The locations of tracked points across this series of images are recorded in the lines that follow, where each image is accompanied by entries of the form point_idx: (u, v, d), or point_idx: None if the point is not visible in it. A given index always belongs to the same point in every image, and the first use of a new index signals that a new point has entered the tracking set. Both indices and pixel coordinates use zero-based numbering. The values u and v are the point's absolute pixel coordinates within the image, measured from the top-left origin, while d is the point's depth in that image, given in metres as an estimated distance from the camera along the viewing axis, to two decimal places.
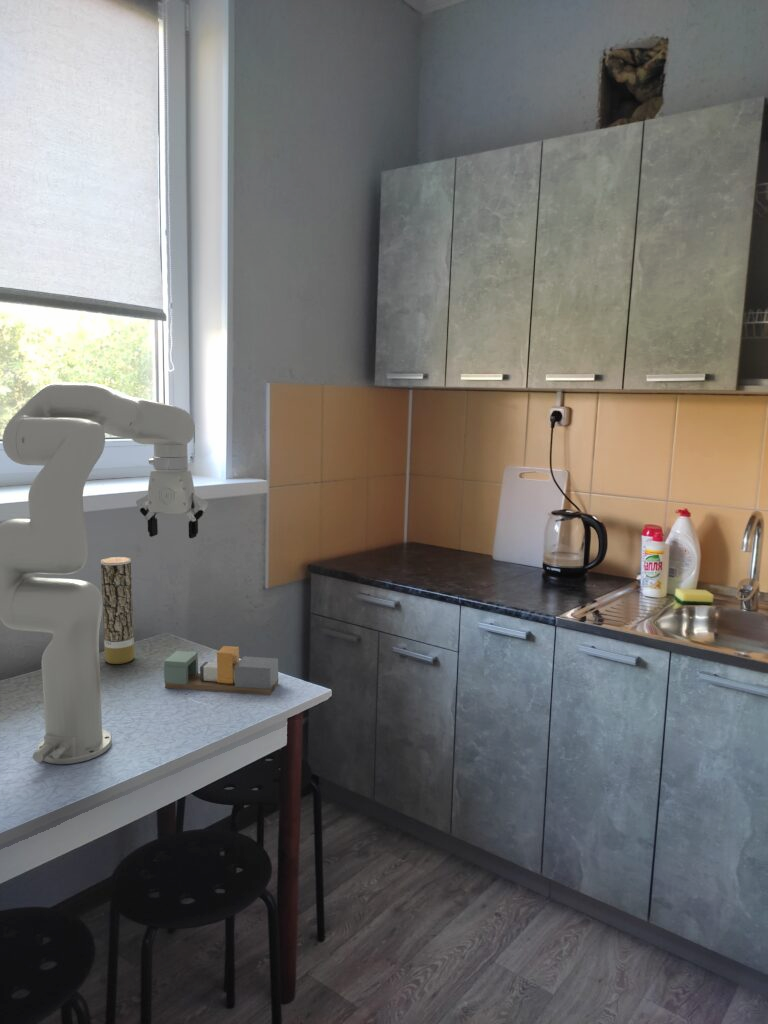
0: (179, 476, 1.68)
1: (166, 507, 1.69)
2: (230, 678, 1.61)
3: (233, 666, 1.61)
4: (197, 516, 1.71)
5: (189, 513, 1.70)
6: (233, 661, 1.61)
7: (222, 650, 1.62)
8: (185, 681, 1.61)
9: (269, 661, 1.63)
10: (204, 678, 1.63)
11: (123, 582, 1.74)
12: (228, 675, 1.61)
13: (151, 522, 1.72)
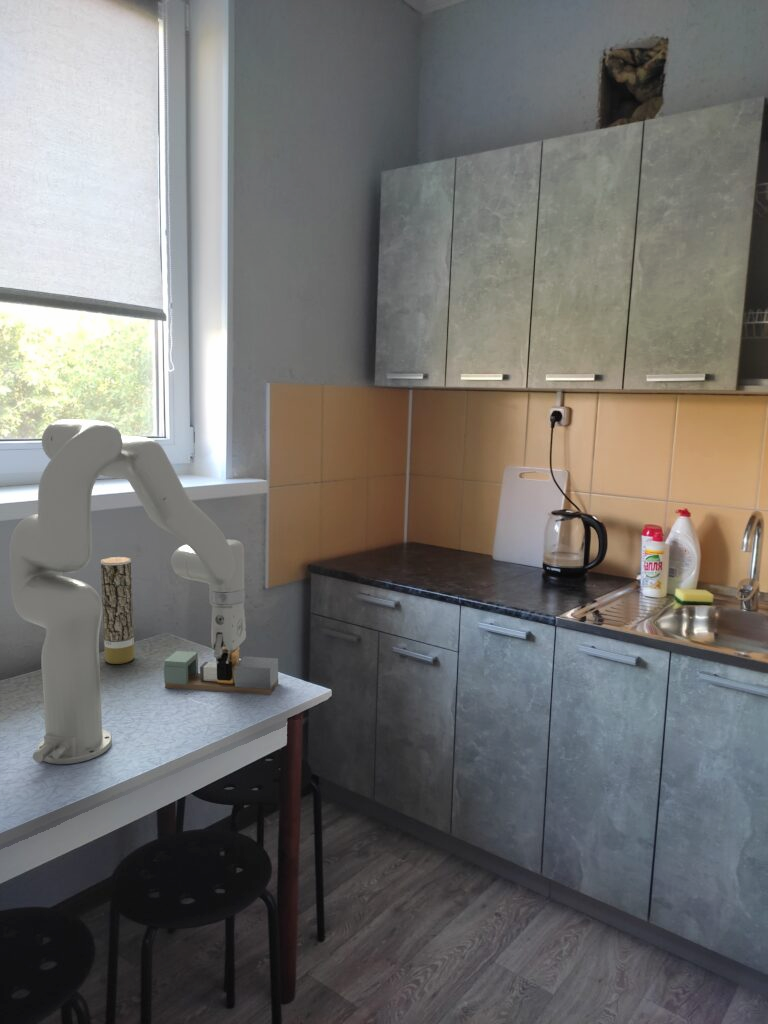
0: (242, 604, 1.64)
1: (239, 640, 1.62)
2: None
3: (233, 666, 1.61)
4: None
5: None
6: (233, 661, 1.61)
7: None
8: (185, 681, 1.61)
9: (269, 661, 1.63)
10: (204, 678, 1.63)
11: (123, 582, 1.74)
12: None
13: None
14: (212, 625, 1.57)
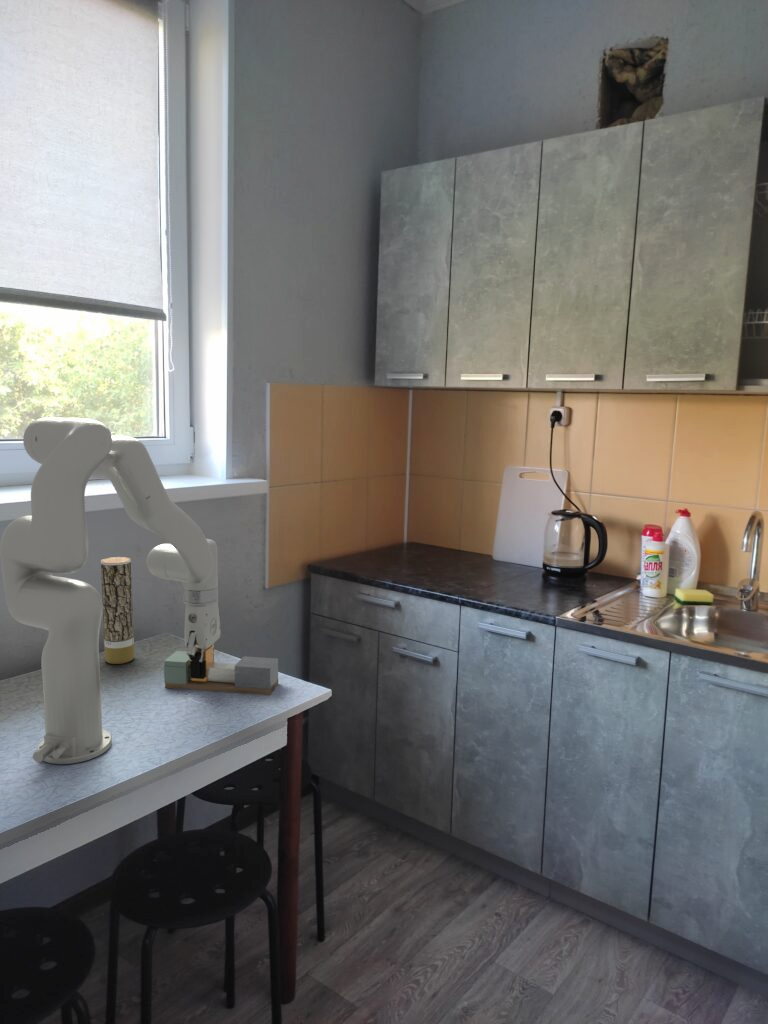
0: (217, 602, 1.65)
1: (213, 638, 1.63)
2: None
3: (207, 664, 1.62)
4: None
5: (212, 643, 1.66)
6: (206, 659, 1.62)
7: None
8: (185, 681, 1.61)
9: (269, 661, 1.63)
10: None
11: (123, 582, 1.74)
12: None
13: None
14: (185, 623, 1.58)
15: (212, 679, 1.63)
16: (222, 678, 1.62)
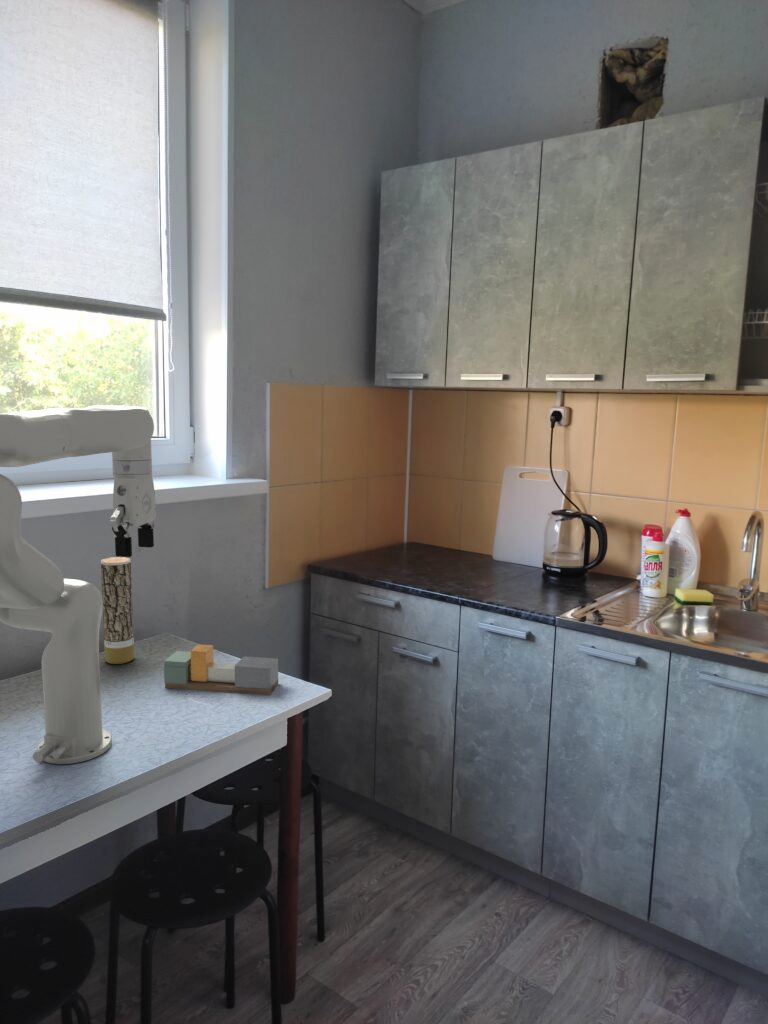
0: (151, 479, 1.51)
1: (146, 517, 1.49)
2: (204, 676, 1.62)
3: (207, 664, 1.62)
4: (152, 521, 1.56)
5: None
6: (206, 659, 1.62)
7: (196, 648, 1.63)
8: (185, 681, 1.61)
9: (269, 661, 1.63)
10: None
11: (123, 582, 1.74)
12: (201, 674, 1.62)
13: None
14: (114, 497, 1.44)
15: (212, 679, 1.63)
16: (222, 678, 1.62)
